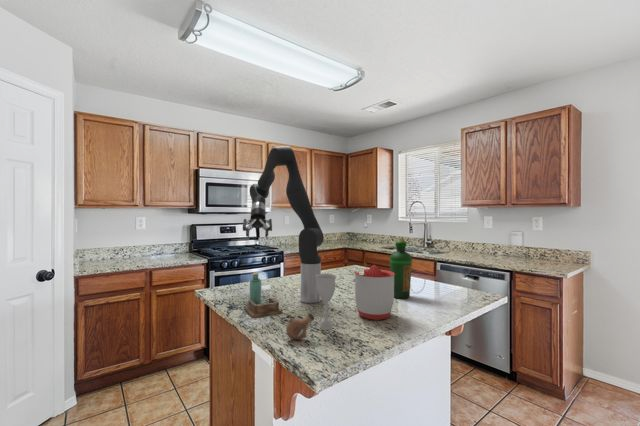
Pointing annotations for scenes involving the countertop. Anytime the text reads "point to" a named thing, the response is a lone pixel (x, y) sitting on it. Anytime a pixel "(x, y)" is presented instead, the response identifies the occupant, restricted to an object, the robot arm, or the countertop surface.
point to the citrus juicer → (374, 293)
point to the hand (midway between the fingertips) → (257, 236)
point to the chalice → (326, 295)
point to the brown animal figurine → (298, 327)
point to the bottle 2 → (401, 270)
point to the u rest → (263, 308)
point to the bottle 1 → (255, 288)
